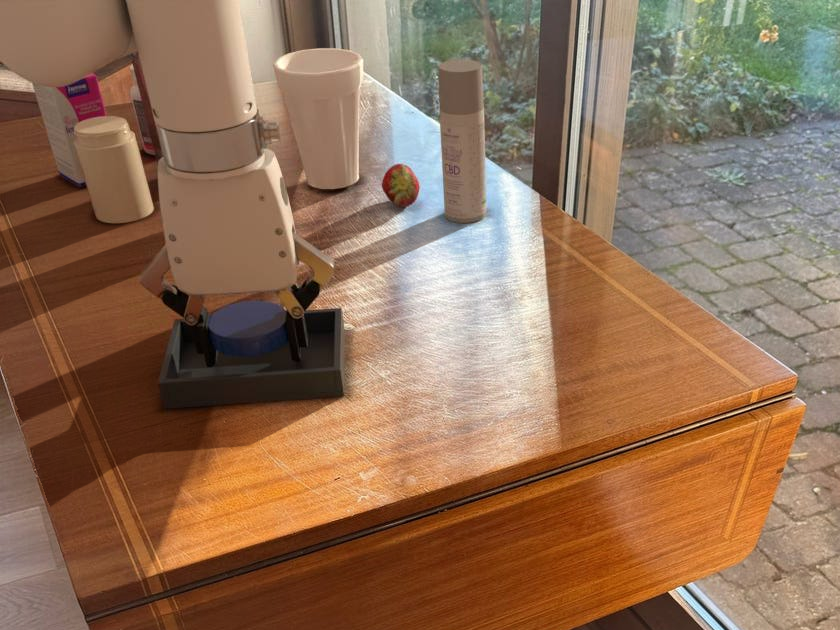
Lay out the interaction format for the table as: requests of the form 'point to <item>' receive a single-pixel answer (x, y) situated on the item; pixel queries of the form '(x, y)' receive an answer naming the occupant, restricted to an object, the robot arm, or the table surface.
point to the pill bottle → (140, 115)
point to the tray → (256, 368)
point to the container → (462, 140)
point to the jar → (112, 169)
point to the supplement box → (68, 120)
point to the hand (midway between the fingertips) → (254, 355)
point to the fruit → (401, 185)
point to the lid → (248, 328)
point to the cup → (324, 112)
